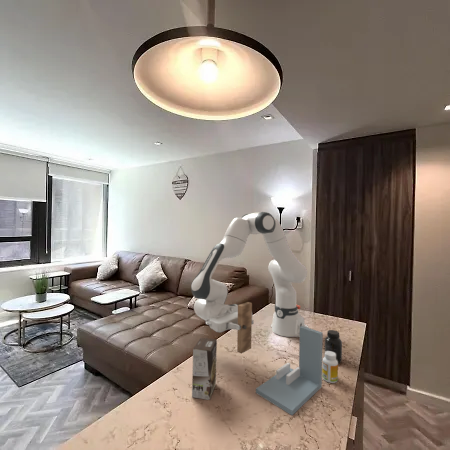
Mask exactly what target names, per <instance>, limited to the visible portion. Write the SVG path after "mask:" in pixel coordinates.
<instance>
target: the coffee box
mask: <svg viewBox="0 0 450 450" xmlns="http://www.w3.org/2000/svg"><path fill="white" fill-rule="evenodd" d="M217 342H218V340H217V339H216V338H204V337H200V338H199V340H198V341H197V343H196V344H195V346H194V347H193V348H192V378H191V379H192V380H191V381H192V383H191V384H192V386H191V397H192V398H195V399H202V400H207V401H208V400H210V399H211V397H212V394H213V393H214V389H215V388H216V384H217V352H218V351H217V347H218V346H217V344H218V343H217Z"/></svg>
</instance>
